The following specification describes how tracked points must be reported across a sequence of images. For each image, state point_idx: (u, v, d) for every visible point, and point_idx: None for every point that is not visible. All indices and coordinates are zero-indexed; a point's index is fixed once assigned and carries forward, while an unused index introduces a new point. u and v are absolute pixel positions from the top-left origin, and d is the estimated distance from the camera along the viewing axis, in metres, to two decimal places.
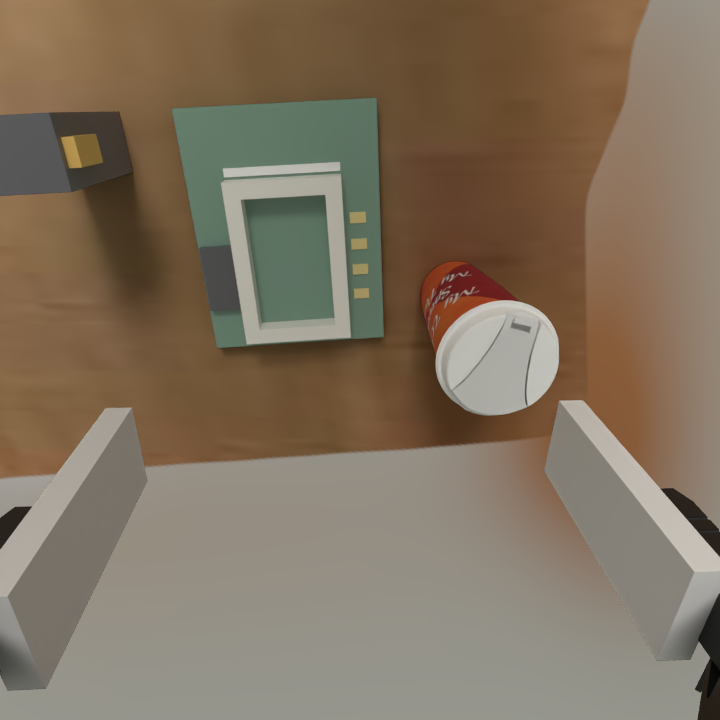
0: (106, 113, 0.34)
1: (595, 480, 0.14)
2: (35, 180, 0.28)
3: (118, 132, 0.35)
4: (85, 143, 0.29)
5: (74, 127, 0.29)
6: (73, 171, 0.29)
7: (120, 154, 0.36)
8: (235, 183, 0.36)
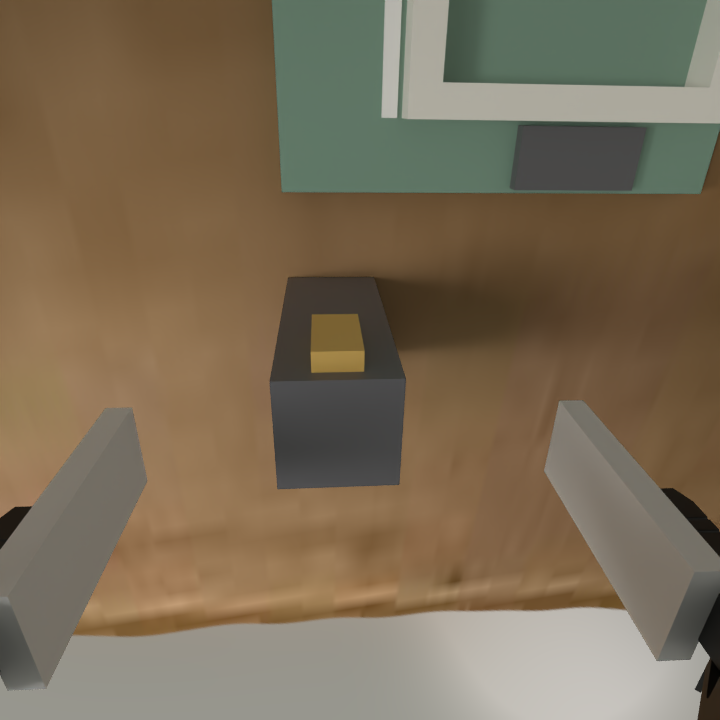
0: (287, 294, 0.22)
1: (595, 480, 0.14)
2: (380, 429, 0.16)
3: (316, 284, 0.23)
4: (324, 334, 0.16)
5: (299, 346, 0.17)
6: (369, 366, 0.16)
7: (347, 288, 0.23)
8: (411, 87, 0.18)
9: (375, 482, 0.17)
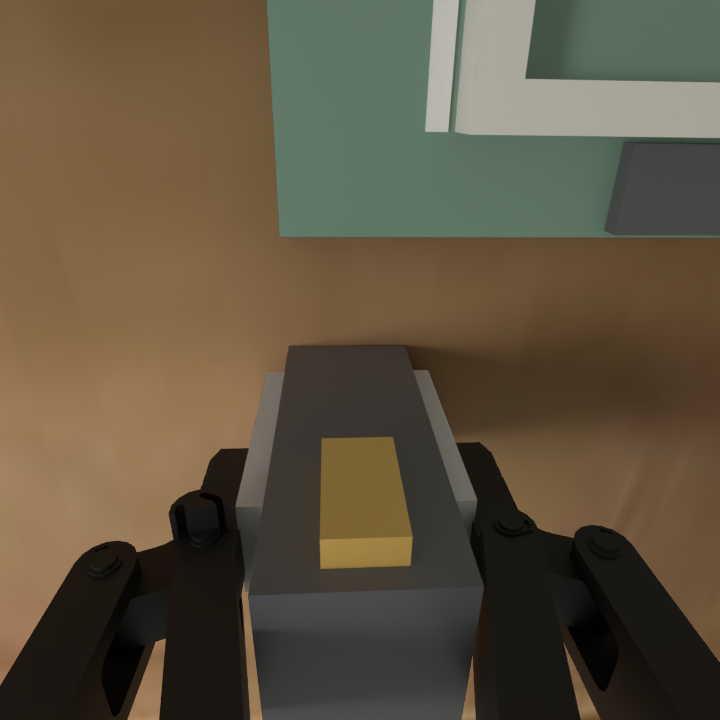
0: (286, 378, 0.15)
1: None
2: (435, 655, 0.10)
3: (327, 359, 0.17)
4: (342, 490, 0.10)
5: (301, 496, 0.11)
6: (418, 551, 0.09)
7: (370, 366, 0.16)
8: (476, 87, 0.12)
9: (423, 718, 0.11)
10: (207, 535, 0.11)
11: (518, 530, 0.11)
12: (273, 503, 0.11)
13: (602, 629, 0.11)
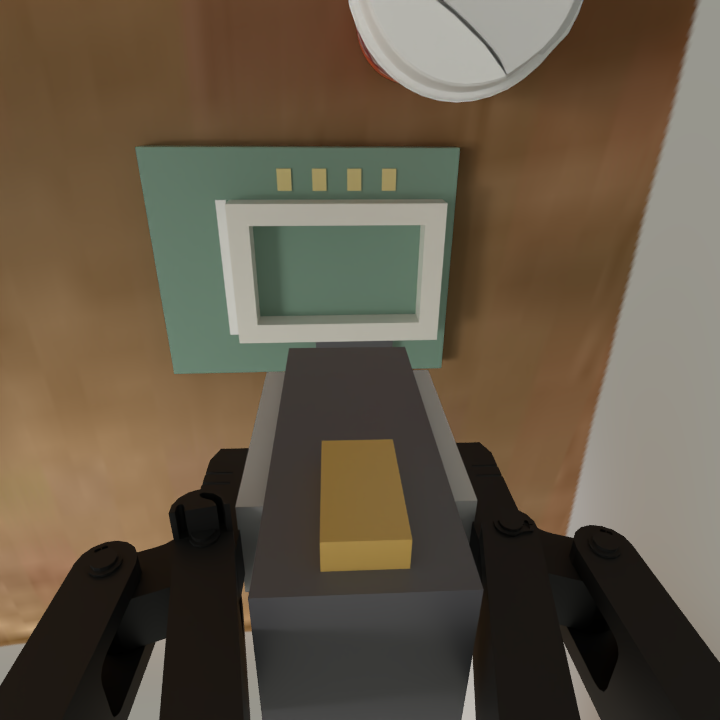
0: (287, 380, 0.15)
1: None
2: (435, 657, 0.10)
3: (328, 361, 0.17)
4: (342, 493, 0.10)
5: (301, 498, 0.11)
6: (417, 553, 0.09)
7: (370, 368, 0.16)
8: (239, 328, 0.31)
9: None
10: (207, 535, 0.11)
11: (518, 530, 0.11)
12: (273, 505, 0.11)
13: (602, 629, 0.11)
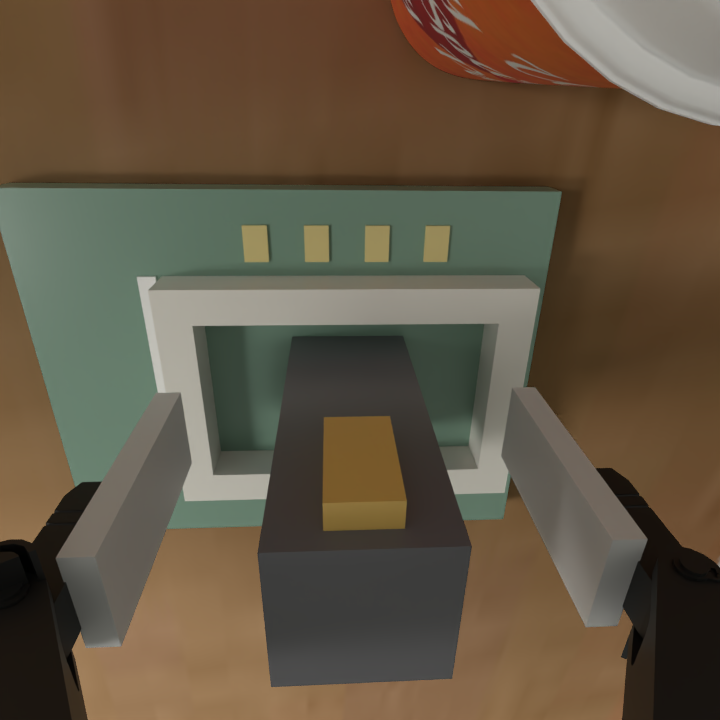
0: (290, 365, 0.16)
1: (540, 461, 0.14)
2: (428, 611, 0.10)
3: (329, 348, 0.18)
4: (343, 462, 0.11)
5: (305, 469, 0.12)
6: (412, 516, 0.10)
7: (369, 354, 0.17)
8: None
9: (417, 673, 0.12)
10: (13, 592, 0.09)
11: (702, 576, 0.10)
12: (279, 475, 0.11)
13: None
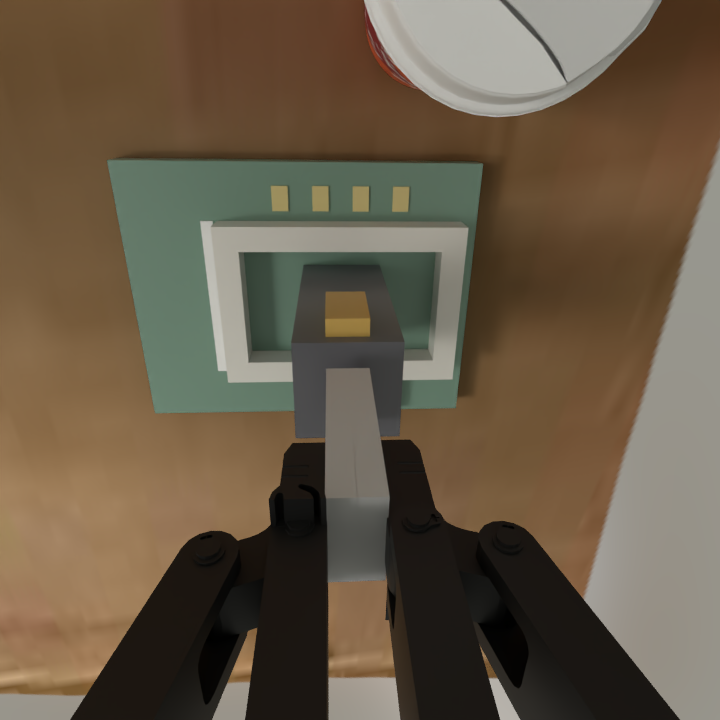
0: (303, 277, 0.25)
1: None
2: (383, 386, 0.19)
3: (328, 270, 0.26)
4: (336, 306, 0.19)
5: (315, 317, 0.20)
6: (374, 333, 0.19)
7: (355, 273, 0.26)
8: (228, 366, 0.28)
9: None
10: (302, 526, 0.11)
11: (426, 525, 0.11)
12: (300, 319, 0.20)
13: (512, 623, 0.11)
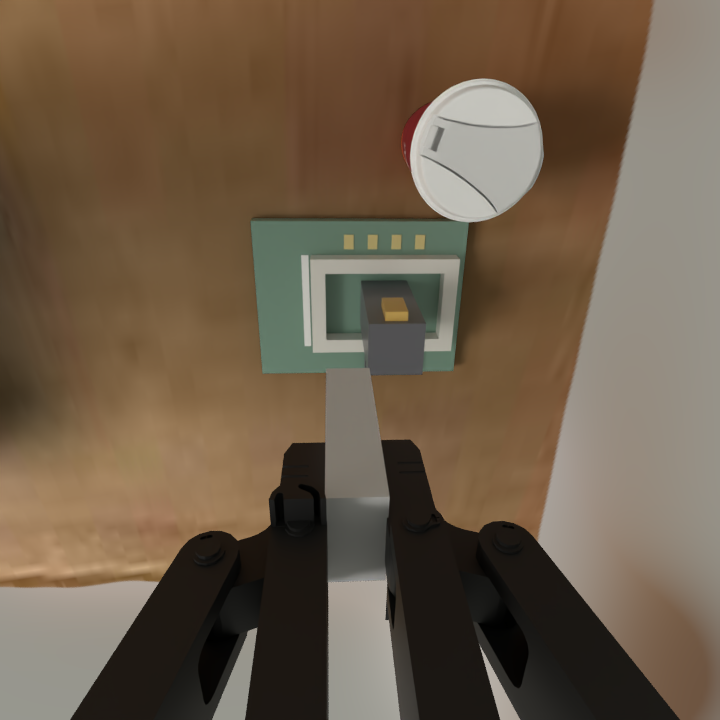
0: (363, 289, 0.42)
1: None
2: (414, 346, 0.36)
3: (376, 284, 0.43)
4: (389, 305, 0.37)
5: (377, 311, 0.38)
6: (410, 319, 0.36)
7: (393, 286, 0.43)
8: (313, 342, 0.45)
9: (411, 373, 0.37)
10: (302, 526, 0.11)
11: (426, 525, 0.11)
12: (369, 312, 0.37)
13: (512, 623, 0.11)
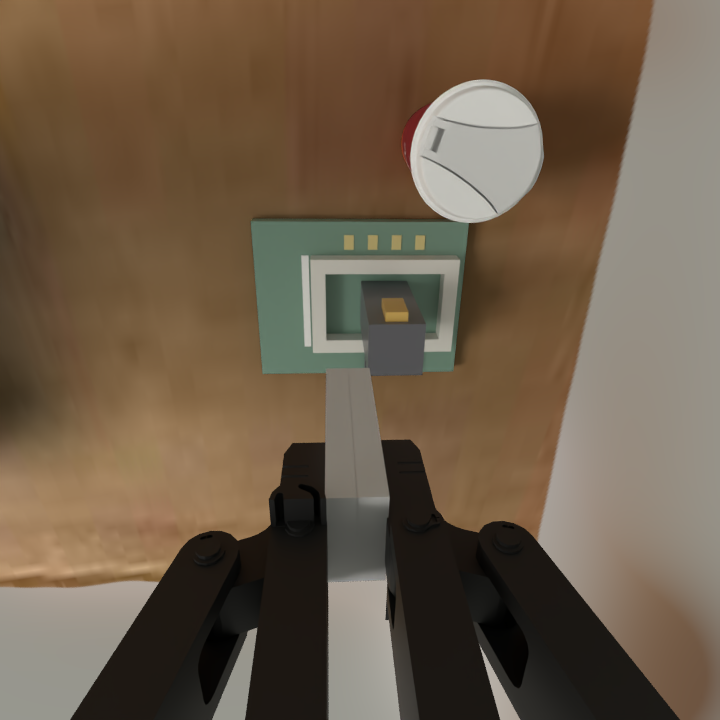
0: (363, 289, 0.42)
1: None
2: (414, 347, 0.36)
3: (377, 284, 0.43)
4: (389, 306, 0.37)
5: (377, 312, 0.38)
6: (410, 319, 0.36)
7: (393, 286, 0.43)
8: (313, 342, 0.45)
9: (411, 374, 0.37)
10: (302, 526, 0.11)
11: (426, 525, 0.11)
12: (369, 313, 0.37)
13: (512, 623, 0.11)
